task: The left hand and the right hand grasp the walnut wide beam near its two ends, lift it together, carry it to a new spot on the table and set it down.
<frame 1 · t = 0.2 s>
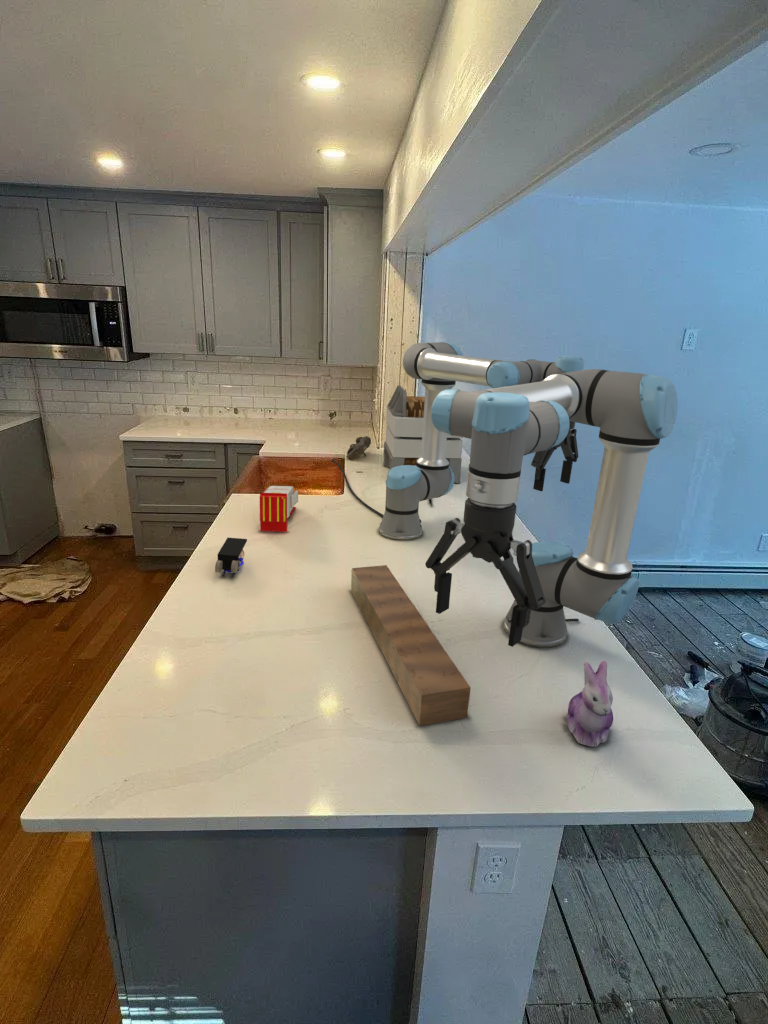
left hand: (551, 486, 166), 28 cm above the counter, tool pointing down, fingers open, 13 cm apart
right hand: (476, 626, 91), 28 cm above the counter, tool pointing down, fingers open, 13 cm apart
figurine: (589, 731, 109), on the counter
wide beam: (398, 643, 135), on the counter
feather: (430, 496, 241), on the counter
toy: (279, 518, 209), on the counter
figurine character: (232, 569, 168), on the counter
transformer: (419, 473, 275), on the counter
fossil: (358, 455, 302), on the counter
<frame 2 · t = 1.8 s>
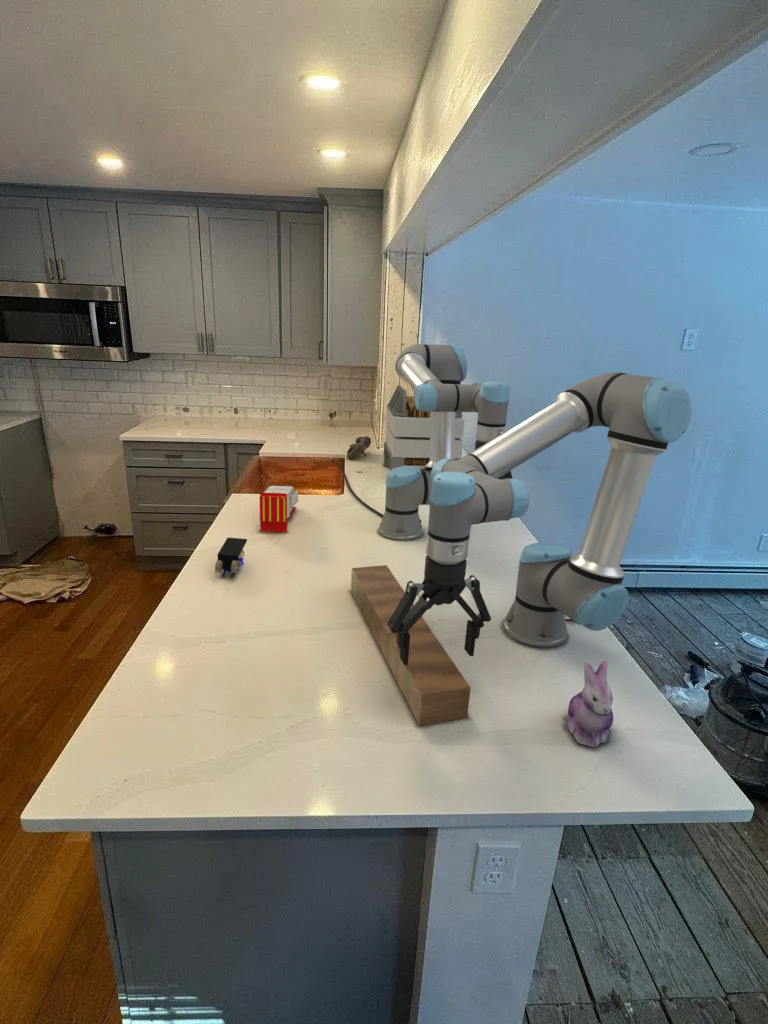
left hand: (481, 514, 159), 21 cm above the counter, tool pointing down, fingers open, 13 cm apart
right hand: (436, 656, 110), 11 cm above the counter, tool pointing down, fingers open, 13 cm apart
nothing on the counter moved.
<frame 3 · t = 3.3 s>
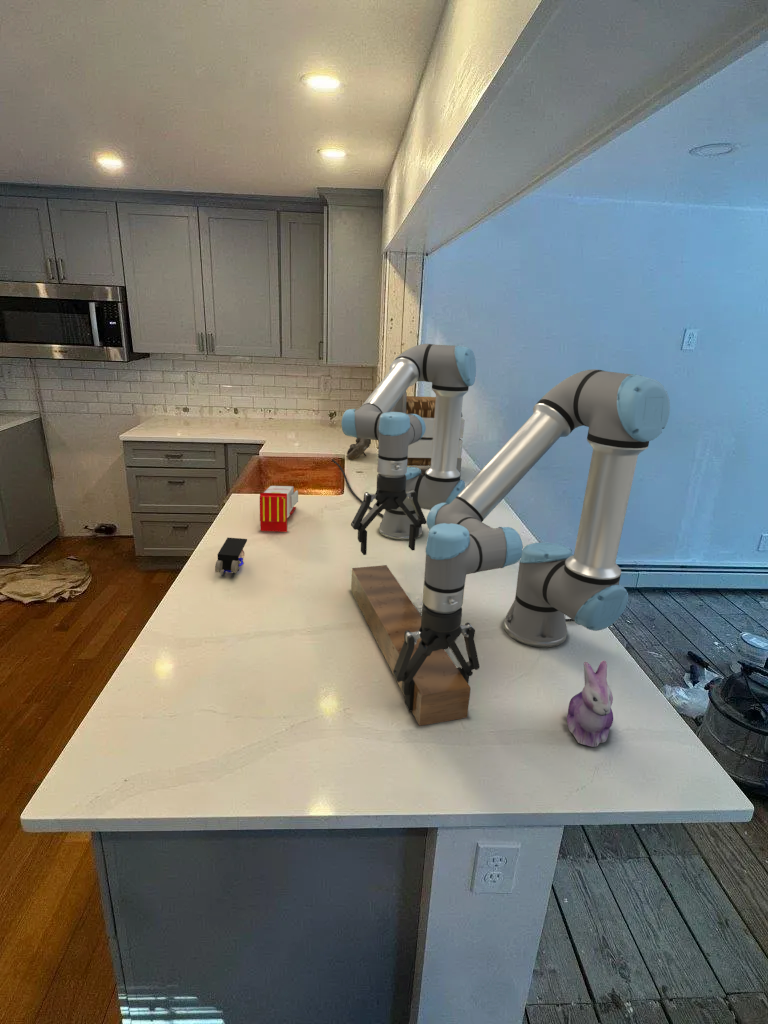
left hand: (387, 550, 151), 14 cm above the counter, tool pointing down, fingers open, 13 cm apart
right hand: (433, 702, 114), 1 cm above the counter, tool pointing down, fingers closed on wide beam, 10 cm apart
wide beam: (398, 643, 135), on the counter, touching right hand
everything else where it was.
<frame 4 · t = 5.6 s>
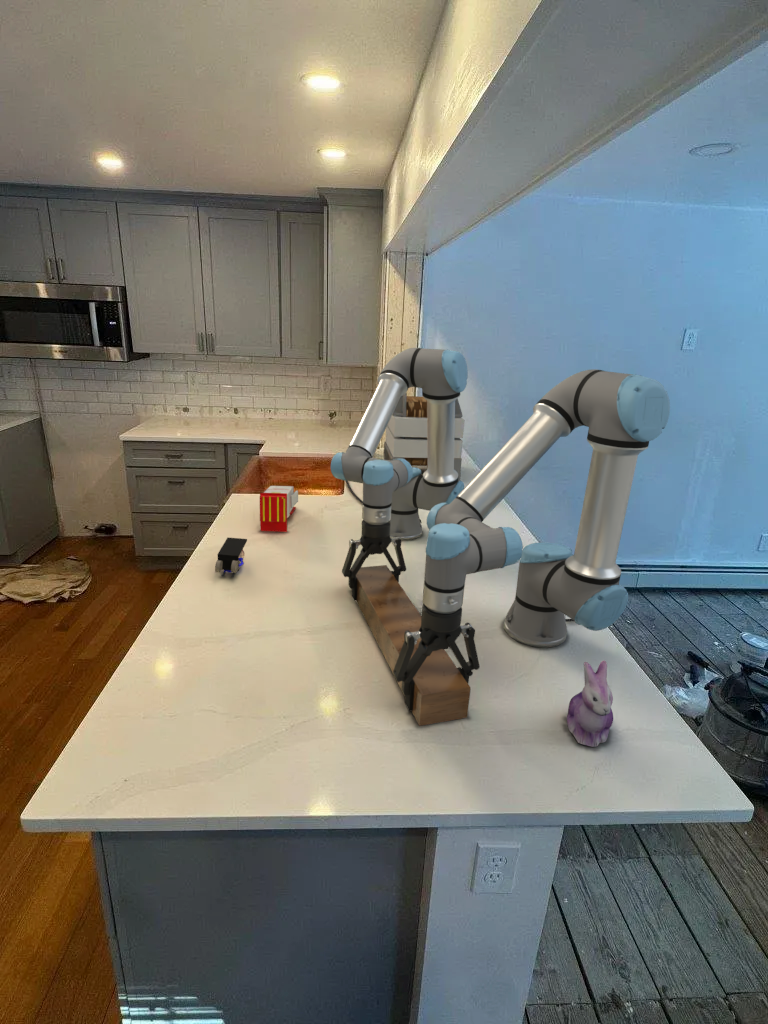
left hand: (373, 596, 155), 1 cm above the counter, tool pointing down, fingers closed on wide beam, 10 cm apart
right hand: (433, 702, 114), 1 cm above the counter, tool pointing down, fingers closed on wide beam, 10 cm apart
wide beam: (398, 643, 135), on the counter, touching left hand, right hand
everything else where it was.
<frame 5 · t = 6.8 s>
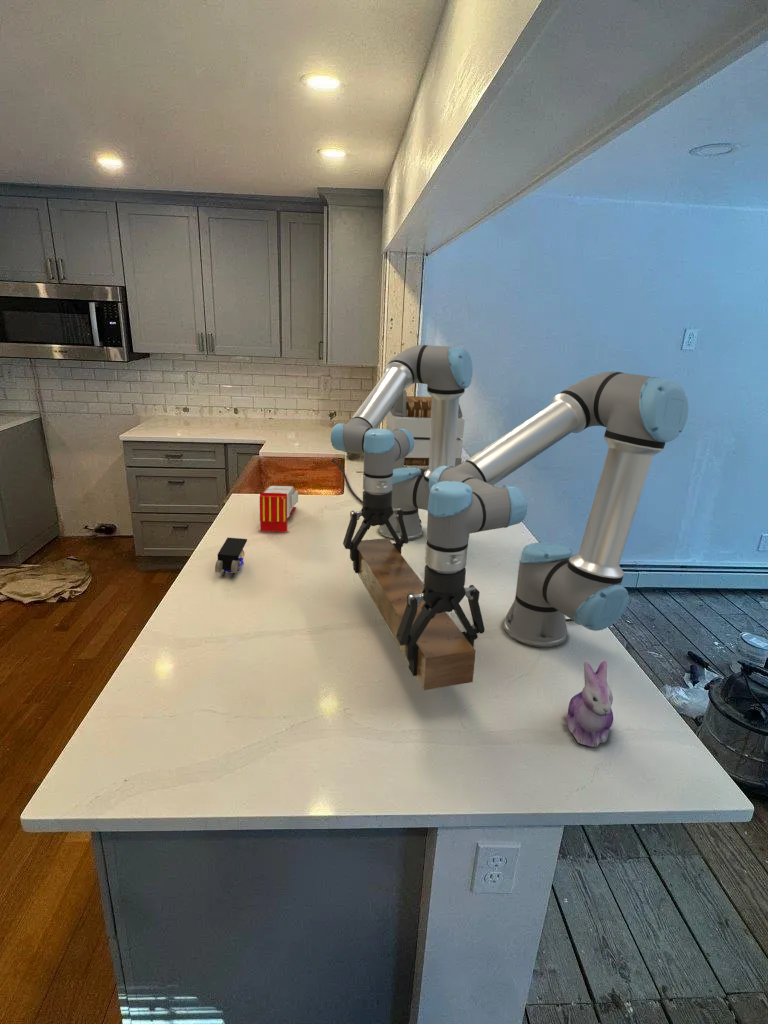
left hand: (375, 569, 152), 9 cm above the counter, tool pointing down, fingers closed on wide beam, 10 cm apart
right hand: (438, 667, 112), 9 cm above the counter, tool pointing down, fingers closed on wide beam, 10 cm apart
wide beam: (402, 613, 132), point 8 cm above the counter, touching left hand, right hand
everything else where it was.
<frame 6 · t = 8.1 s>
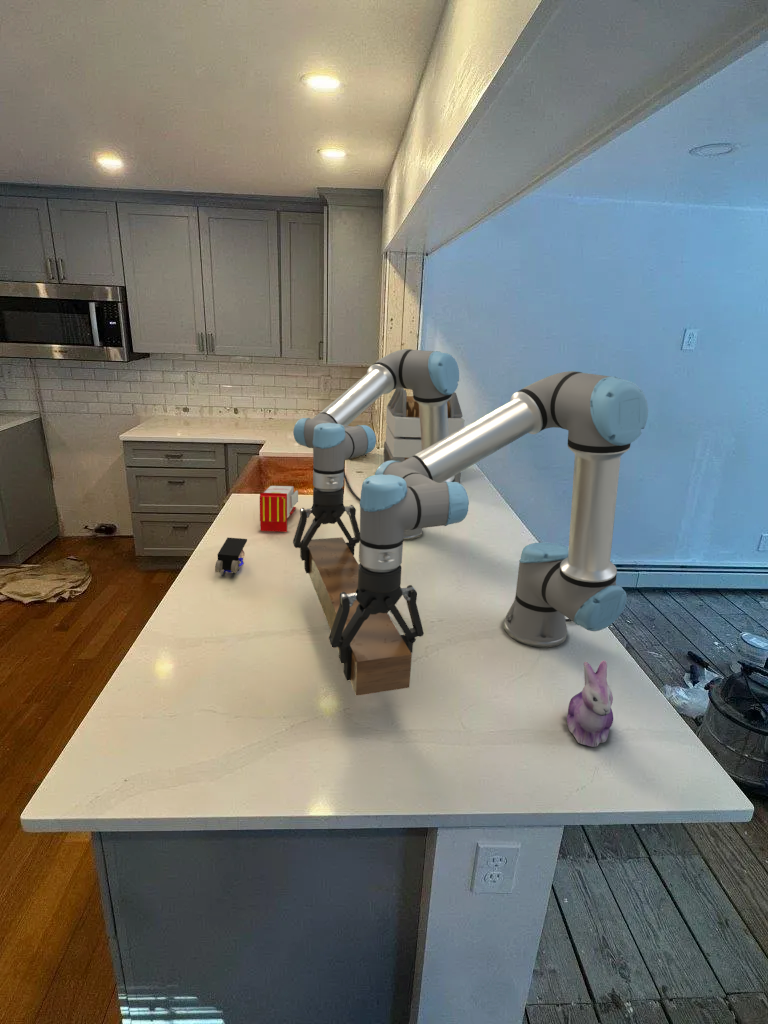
left hand: (327, 569, 147), 11 cm above the counter, tool pointing down, fingers closed on wide beam, 10 cm apart
right hand: (375, 672, 106), 11 cm above the counter, tool pointing down, fingers closed on wide beam, 10 cm apart
wide beam: (347, 614, 127), point 10 cm above the counter, touching left hand, right hand
everything else where it was.
when the left hand's fingers open (2 cm above the counter, at t = 10.5 s): wide beam drops 2 cm, on the counter.
when the right hand's fingers open (2 cm above the counter, at t = 10.5 s): wide beam drops 2 cm, on the counter.
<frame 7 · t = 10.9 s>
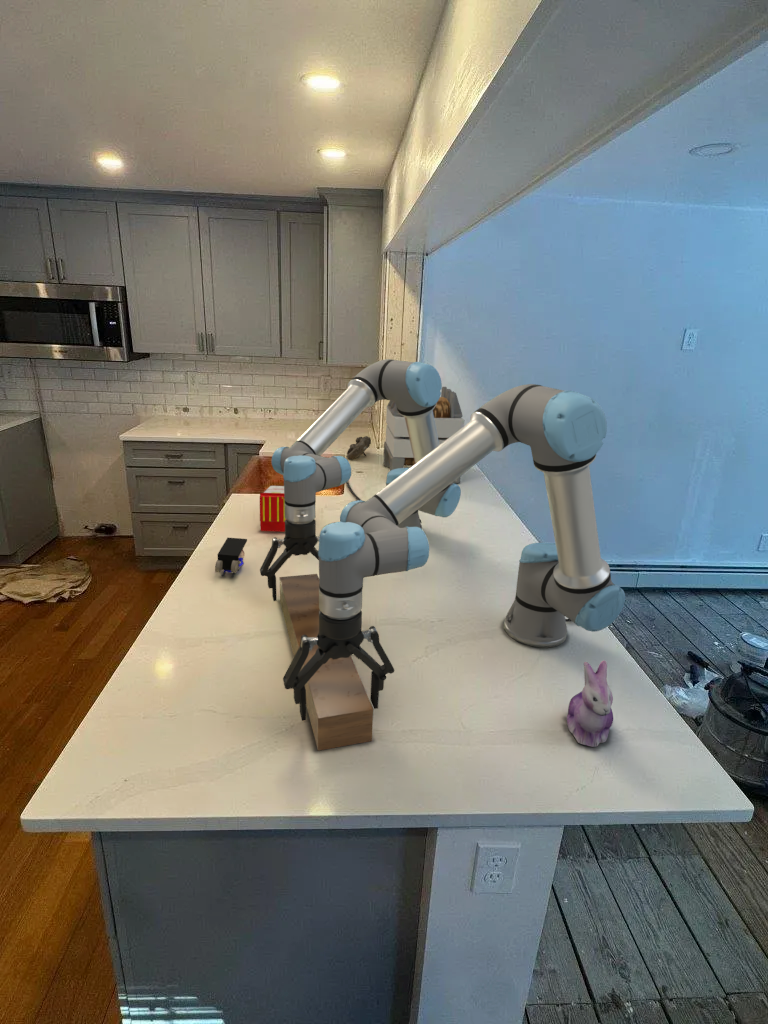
left hand: (301, 595, 147), 4 cm above the counter, tool pointing down, fingers open, 13 cm apart
right hand: (339, 710, 106), 4 cm above the counter, tool pointing down, fingers open, 13 cm apart
wide beam: (317, 658, 128), on the counter
everything else where it was.
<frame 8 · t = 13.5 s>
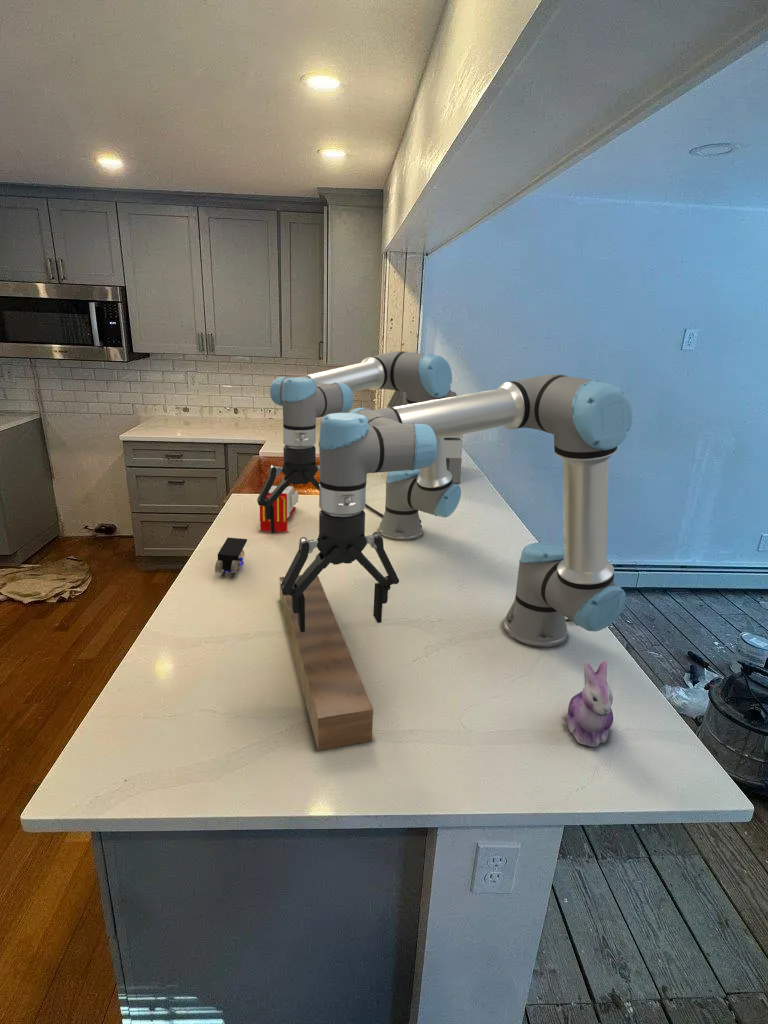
left hand: (300, 529, 140), 22 cm above the counter, tool pointing down, fingers open, 13 cm apart
right hand: (340, 623, 100), 22 cm above the counter, tool pointing down, fingers open, 13 cm apart
nothing on the counter moved.
at the end: wide beam inside the target area (0.2 cm from its centre), on the counter; wide beam tilted 0°; wide beam never tilted more than 2° during the clip; both hands held the wide beam at the same time; the left hand is holding nothing; the right hand is holding nothing; wide beam at rest at the end (0.0 cm/s) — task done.
